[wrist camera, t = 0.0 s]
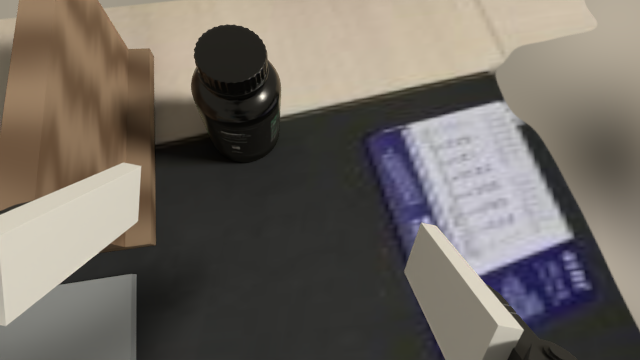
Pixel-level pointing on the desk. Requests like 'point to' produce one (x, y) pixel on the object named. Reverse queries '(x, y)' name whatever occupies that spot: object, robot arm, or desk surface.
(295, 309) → the desk surface
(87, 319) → the slate mat
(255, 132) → the supplement bottle
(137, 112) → the walnut screen
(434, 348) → the desk surface
